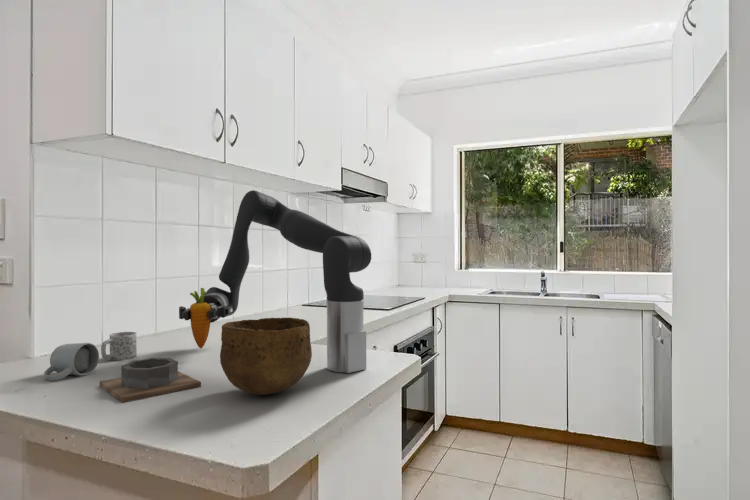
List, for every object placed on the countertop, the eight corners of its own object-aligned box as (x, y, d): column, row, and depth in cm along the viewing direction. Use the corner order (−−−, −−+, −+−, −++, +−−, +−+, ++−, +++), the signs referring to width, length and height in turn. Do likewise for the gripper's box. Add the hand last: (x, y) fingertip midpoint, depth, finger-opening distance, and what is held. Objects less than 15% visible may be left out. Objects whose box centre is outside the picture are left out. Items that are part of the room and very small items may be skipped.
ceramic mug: (73, 369, 122) (72, 338, 122) (100, 371, 120) (99, 340, 120) (34, 381, 112) (33, 348, 112) (63, 383, 110) (62, 349, 110)
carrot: (197, 351, 117) (196, 289, 117) (186, 349, 120) (185, 288, 120) (215, 347, 121) (214, 287, 121) (203, 345, 124) (202, 287, 124)
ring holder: (200, 386, 107) (200, 363, 106) (122, 402, 96) (121, 377, 95) (172, 372, 118) (172, 352, 118) (99, 385, 107) (99, 363, 107)
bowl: (282, 375, 115) (282, 313, 115) (329, 393, 101) (328, 322, 101) (204, 391, 103) (204, 321, 103) (245, 414, 89) (245, 332, 89)
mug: (125, 354, 139) (124, 331, 139) (142, 356, 137) (141, 332, 137) (92, 361, 130) (92, 337, 130) (110, 364, 128) (110, 338, 128)
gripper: (183, 294, 134) (166, 301, 117) (237, 293, 136) (228, 299, 119) (184, 321, 134) (167, 332, 117) (237, 320, 136) (228, 329, 119)
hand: (198, 315), depth 118 cm, fingers closed on carrot, 5 cm apart
